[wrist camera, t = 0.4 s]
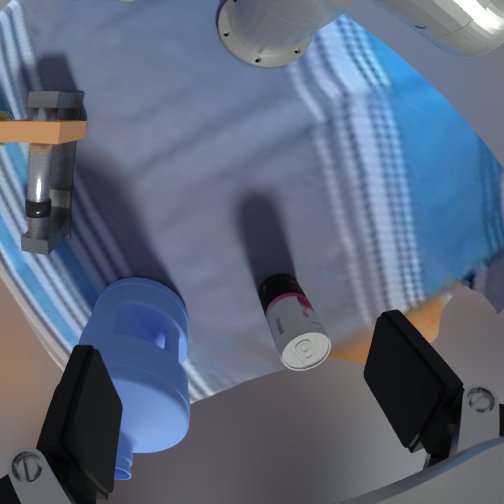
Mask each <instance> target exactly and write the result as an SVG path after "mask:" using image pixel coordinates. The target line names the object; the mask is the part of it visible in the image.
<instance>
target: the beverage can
mask: <svg viewBox="0 0 504 504" xmlns="http://www.w3.org/2000/svg"><path fill="white" fill-rule="evenodd" d="M259 299H260V302H261V305H262V308H263V311H264V314H265V317H266V319H267V322H268V325H269V328H270V331H271V334H272V337H273V340H274V342H275V345H276V348H277V351H278V354H279V357H280V359H281V361H282V362H283V363H284V365H285V366H286V367H288V368H289V369H292V370H297V371H302V370H307V369H311V368H313V367H315V366H317V365H319V364H320V363H321V362H322V361H323V360H325V358H326V357H327V356H328V354H329V352H330V349H331V343H330V338H329V335H328V334H327V332H326V330H325V328H324V327H323V325H322V323H321V322H320V320H319V318H318V316H317V315H316V313H315V311H314V310H313V308H312V306H311V304H310V303H309V301H308V299H307V298H306V296H305V294H304V292H303V291H302V289H301V287H300V286H299V284H298V282H297V281H296V279H295V278H293V277H292V276H290V275H287V274H277V275H273V276H271V277H269V278H268V279H266V280H265V281H264V282H263V284H262V285H261V287H260V290H259Z"/></svg>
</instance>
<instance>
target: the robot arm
mask: <svg viewBox="0 0 504 504" xmlns="http://www.w3.org/2000/svg"><path fill="white" fill-rule="evenodd" d="M234 1H236V2H234ZM354 1H355V0H227V2H226V3H225V4H224V6H223V7H222V9H221V12H220V14H219V19H218V31H219V36H220V38H221V41H222V43H223V44H224V46H225V47H226V49H227V50H228V51H229V52H230V53H231V54H232V55H233V56H235V57H236V58H238V59H239V60H240V61H242V62H245V63H247V64H249V65H253V66H256V67H263V68H274V67H280V66H284V65H286V64H289V63H291V62H293V61H294V60H296V59H298V58H299V57H300V56H301V55H303V53H304V52H305V51H306V50H307V48H308V46H309V44H310V42H311V39H312V35H313V34H314V33H315V32H317V31H318V30H320V29H321V28H323V27H324V26H326V25H328V24H329V23H331V22H332V21H334V20H335V19H337V18H338V17H340V16H341V15H343V14H344V13H345V12H346V11H347V10H348V9H349V8H350V7H351V6H352V4H353V2H354ZM367 1H369V2H371V3H373V4H375V5H377V6H378V7H380V8H381V9H383V10H385V11H387V12H388V13H389V14H391V15H392V16H394V17H396V18H397V19H398V20H400V21H401V22H403V23H404V24H406V25H407V26H408V27H410V28H411V29H413V30H414V31H415V32H417V33H418V34H420V35H421V36H423V37H424V38H425V39H427V40H428V41H430V42H431V43H432V44H434V45H435V46H437V47H438V48H440V49H441V50H443V51H445V52H447V53H449V54H452V55H455V56H459V57H475V56H479V55H483V54H485V53H488V52H490V51H492V50H493V49H495V48H497V47H498V46H500V45H501V44H502V43H503V42H504V0H367ZM224 34H227V35H228V36H226V37H225V36H224ZM294 51H297V54H296V53H295V52H294ZM256 59H257V60H258V61H259V62H256V61H255V60H256ZM364 379H365V381H366V383H367V384H368V386H369V387H370V389H371V391H372V393H373V395H374V396H375V398H376V400H377V401H378V403H379V405H380V407H381V408H382V410H383V412H384V413H385V415H386V417H387V419H388V420H389V422H390V424H391V425H392V427H393V429H394V431H395V433H396V434H397V436H398V438H399V440H400V441H401V443H402V445H403V446H404V447H405V448H408V449H409V451H410V452H411V453H414V452H416V451H418V450H420V449H422V448H425V450H426V452H427V454H426V458H425V463H424V466H423V470H422V471H420V472H418V473H415V474H413V475H411V476H409V477H406V478H404V479H402V480H399V481H397V482H395V483H392V484H390V485H387V486H385V487H382V488H379V489H377V490H374V491H371V492H368V493H365V494H363V495H360V496H357V497H354V498H350V499H347V500H344V501H341V502H337V503H334V504H504V404H499V400H498V397H497V395H496V393H495V392H494V391H493V390H492V389H491V388H489V387H488V386H486V385H482V384H474V385H470V386H469V387H467V388H466V389H464V388H463V387H462V386H463V383H462V381H461V380H460V379H459V378H458V376H457V375H456V374H455V373H454V372H453V370H452V369H451V368H450V367H449V366H448V364H447V363H446V362H445V361H444V360H443V359H442V357H441V356H440V355H439V354H438V353H437V352H436V351H435V350H434V348H433V347H432V346H431V345H430V344H429V343H428V341H427V340H426V339H425V338H424V337H423V336H422V335H421V334H420V332H419V331H418V330H417V329H416V328H415V327H414V326H413V325H412V324H411V322H410V321H409V320H408V319H407V318H406V317H405V316H404V315H403V314H402V313H401V312H400V311H399V310H397V309H396V310H391V311H386V312H383V313H382V314H381V316H380V317H378V319H377V321H376V325H375V330H374V334H373V338H372V342H371V346H370V350H369V354H368V358H367V361H366V365H365V369H364ZM122 412H123V406H122V402H121V400H120V397H119V395H118V393H117V391H116V389H115V387H114V384H113V382H112V380H111V378H110V375H109V373H108V371H107V368H106V366H105V364H104V361H103V359H102V356H101V354H100V352H99V350H98V349H94V347H93V346H92V345H75V347H74V348H73V351H72V353H71V356H70V358H69V361H68V363H67V366H66V368H65V371H64V373H63V376H62V379H61V381H60V383H59V384H58V385H57V387H56V389H55V392H54V395H53V397H52V400H51V403H50V406H49V409H48V412H47V415H46V418H45V421H44V424H43V427H42V430H41V433H40V436H39V440H38V444H37V447H36V449H35V448H31V447H24V448H21V449H18V450H17V451H16V452H14V453H13V455H12V456H11V457H10V459H9V462H8V474H7V475H6V476H4V477H3V478H1V479H0V504H96V499H104V500H108V493H111V492H112V491H113V486H114V475H115V466H116V457H117V448H118V440H119V433H120V426H121V419H122Z"/></svg>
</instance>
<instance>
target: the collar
mask: <svg viewBox="0 0 504 504" xmlns="http://www.w3.org/2000/svg"><path fill="white" fill-rule="evenodd" d="M86 126H87V121H79V120H58V119H57V120H56V121H33V119H24V120H12V121H1V122H0V142H22V143H45V144H61V143H66V142H70V141H75V140H80V139H85V133H86Z"/></svg>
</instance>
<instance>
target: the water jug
mask: <svg viewBox="0 0 504 504" xmlns="http://www.w3.org/2000/svg"><path fill="white" fill-rule="evenodd" d="M188 334H189V317H188V313H187V310H186V308H185V306H184V304H183V302H182V301H181V299H180V298H179V297H178V296H177V295H176V294H175V293H174V292H173V291H172V290H171V289H169V288H168V287H167V286H165V285H163V284H161V283H159V282H157V281H154V280H151V279H147V278H140V277H131V278H125V279H121V280H118V281H116V282H114V283H112V284H110V285H109V286H107V287H106V288H105V289H104V290H103V291H102V293H101V294H100V295H99V297H98V299H97V301H96V303H95V306H94V309H93V312H92V314H91V317H90V319H89V321H88V323H87V324H86V326H85V328H84V330H83V332H82V335H81V337H80V340H79V345H92V346H93V347H94V349H98V350H99V352H100V354H101V356H102V359H103V361H104V364H105V366H106V368H107V371H108V373H109V375H110V378H111V380H112V382H113V384H114V387H115V389H116V391H117V393H118V395H119V397H120V400H121V402H122V406H123V412H122V419H121V426H120V433H119V440H118V448H117V457H116V466H115V475H114V479H119V480H127V479H130V478H131V475H132V474H131V472H130V466H131V465H132V461H133V459H132V452H133V453H148V452H149V453H150V452H157V451H161V450H165V449H167V448H170V447H172V446H174V445H176V444H177V443H178V442H179V441H181V440H182V439H183V438H184V436H185V435H186V433H187V431H188V427H189V417H190V399H189V393H188V379H187V375H186V373H185V371H184V369H183V367H182V366H181V365H182V364H183V362H184V361H185V359H186V356H187V352H188Z"/></svg>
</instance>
